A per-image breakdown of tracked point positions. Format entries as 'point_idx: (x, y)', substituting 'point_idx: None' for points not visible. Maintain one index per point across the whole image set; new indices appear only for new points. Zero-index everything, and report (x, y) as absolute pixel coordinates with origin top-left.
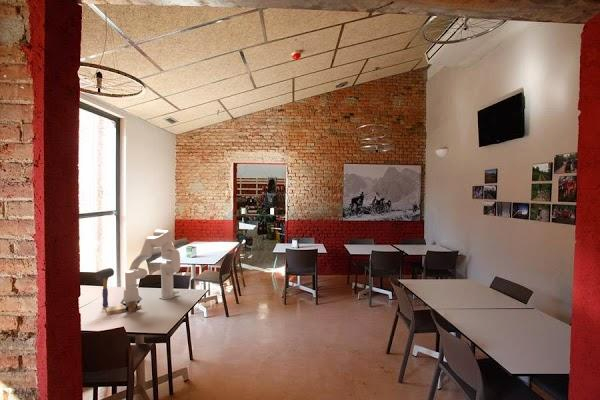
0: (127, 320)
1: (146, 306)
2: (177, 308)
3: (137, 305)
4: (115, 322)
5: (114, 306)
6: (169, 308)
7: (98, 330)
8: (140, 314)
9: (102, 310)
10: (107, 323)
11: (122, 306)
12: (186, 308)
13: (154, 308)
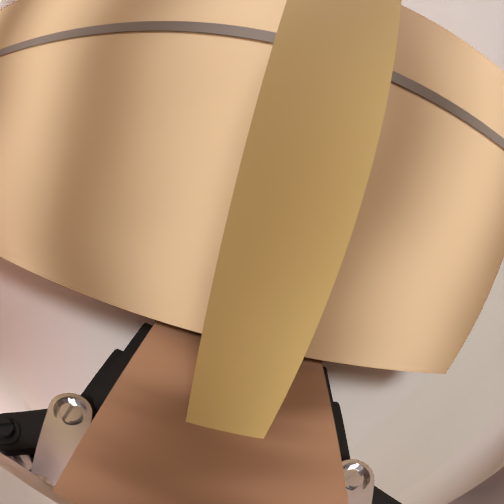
0: None
1: (493, 310)
2: (474, 476)
3: (401, 347)
4: None
5: (24, 15)
6: (470, 465)
7: None
8: None
9: (3, 4)
10: (10, 408)
11: (90, 103)
12: (477, 484)
13: (455, 429)
